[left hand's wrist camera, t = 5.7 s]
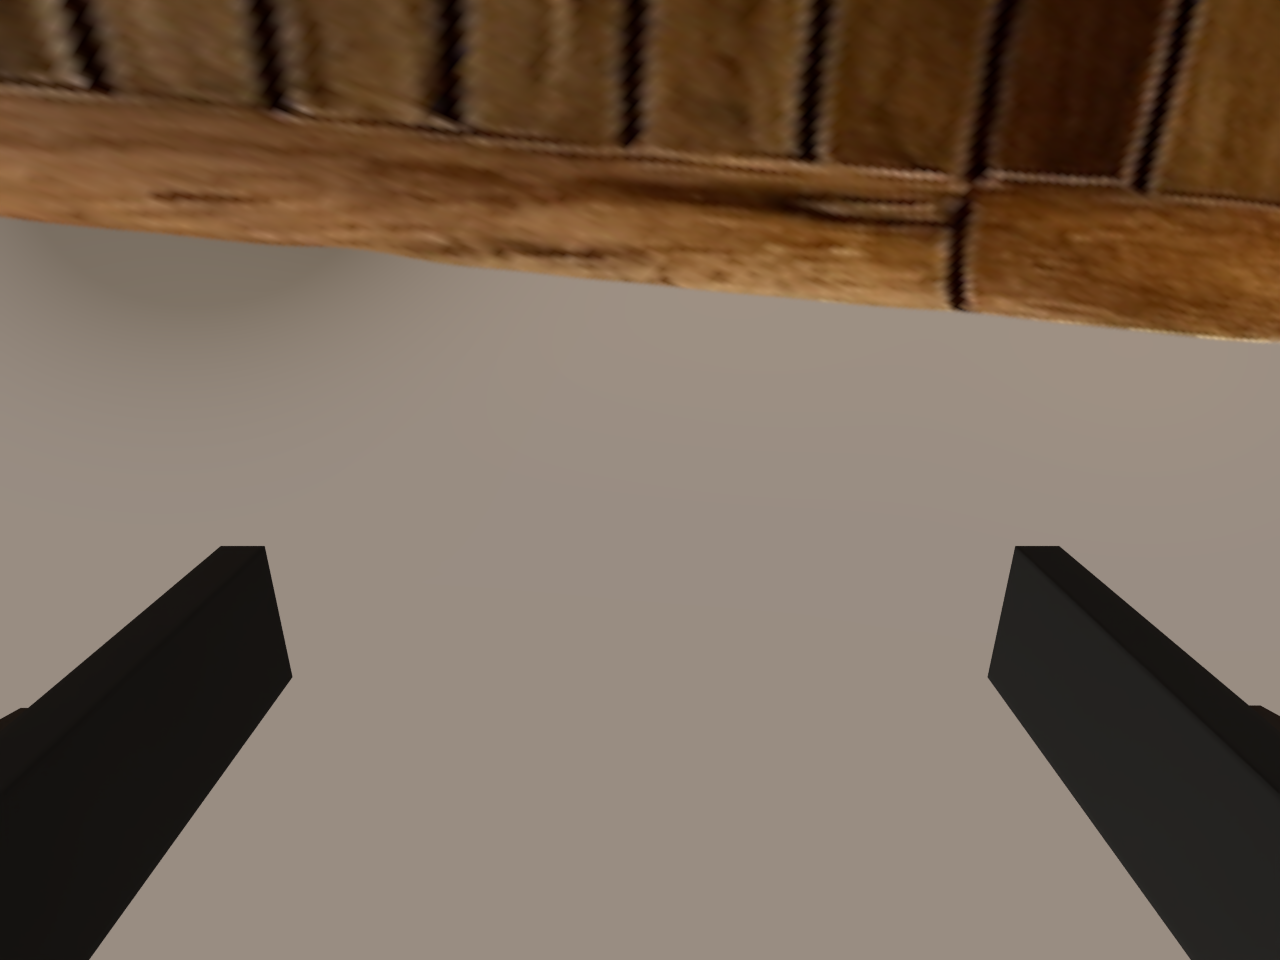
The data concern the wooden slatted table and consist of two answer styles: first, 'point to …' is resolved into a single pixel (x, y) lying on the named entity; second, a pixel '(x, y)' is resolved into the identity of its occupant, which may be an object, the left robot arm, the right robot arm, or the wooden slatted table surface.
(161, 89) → the wooden slatted table surface
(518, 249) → the wooden slatted table surface
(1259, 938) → the left robot arm
